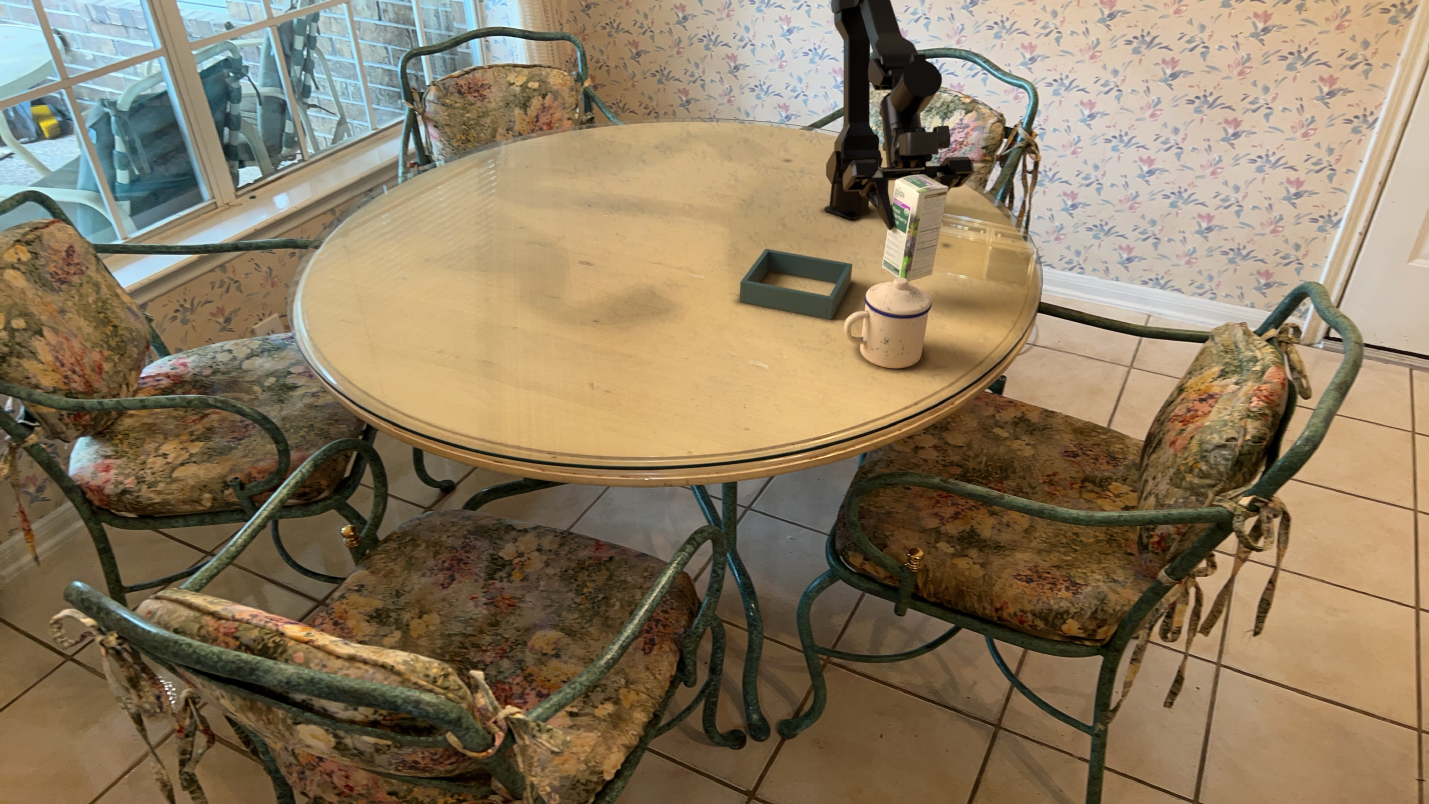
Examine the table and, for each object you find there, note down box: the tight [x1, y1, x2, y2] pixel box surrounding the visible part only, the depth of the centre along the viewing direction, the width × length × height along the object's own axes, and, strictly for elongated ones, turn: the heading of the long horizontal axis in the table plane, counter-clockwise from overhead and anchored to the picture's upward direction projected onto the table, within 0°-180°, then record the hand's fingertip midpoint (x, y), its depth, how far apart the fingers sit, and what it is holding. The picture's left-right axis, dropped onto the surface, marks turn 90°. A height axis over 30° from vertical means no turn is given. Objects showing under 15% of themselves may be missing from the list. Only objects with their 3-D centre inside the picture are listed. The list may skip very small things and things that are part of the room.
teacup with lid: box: [843, 277, 933, 369], centre depth 125 cm, size 12×9×12 cm
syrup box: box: [881, 174, 949, 282], centre depth 134 cm, size 6×6×14 cm
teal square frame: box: [739, 248, 853, 320], centre depth 142 cm, size 13×15×4 cm
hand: (913, 228), depth 134 cm, fingers closed on syrup box, 7 cm apart
